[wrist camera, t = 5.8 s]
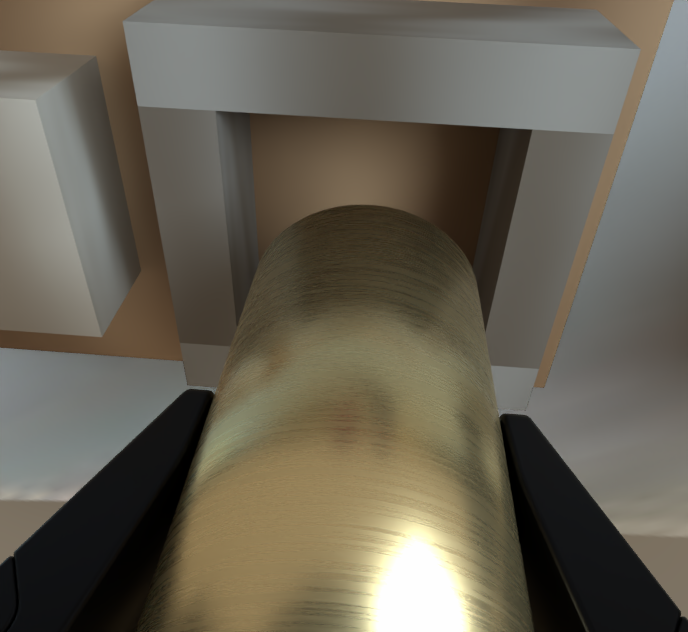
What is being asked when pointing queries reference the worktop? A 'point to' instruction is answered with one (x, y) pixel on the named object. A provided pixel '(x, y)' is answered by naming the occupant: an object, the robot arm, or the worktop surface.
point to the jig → (302, 156)
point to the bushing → (349, 449)
